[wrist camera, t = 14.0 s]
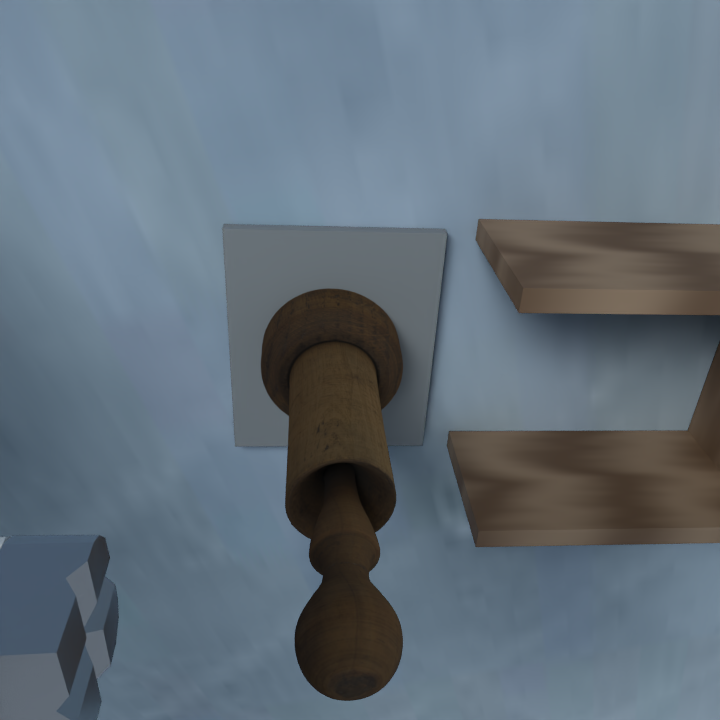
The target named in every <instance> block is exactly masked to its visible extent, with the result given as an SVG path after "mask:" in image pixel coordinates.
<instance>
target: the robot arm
mask: <svg viewBox="0 0 720 720" xmlns="http://www.w3.org/2000/svg"><path fill="white" fill-rule="evenodd" d="M109 560H110V556H109V552H108V548H107V543H106V539H105V537H102V536H100V535H21V536H7V537H0V720H97V718H98V714H99V710H100V706H101V702H102V701H101V697H100V692H99V688H98V683H97V679H98V678H99V677H100V676H101V675H102V674H103V673H104V672H105V671H106V670H107V669H108V668H109V667H110V666H111V662H112V657H113V653H114V649H115V645H116V637H117V628H118V618H119V615H118V597H117V592H116V586H115V584H114V583H113V582H112V581H110V580H109V579H108V578H107V577H105V574H106V570H107V567H108V563H109Z"/></svg>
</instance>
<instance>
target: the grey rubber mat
mask: <svg viewBox="0 0 720 720" xmlns="http://www.w3.org/2000/svg"><path fill="white" fill-rule="evenodd" d="M222 230H223V247H224V264H225V281H226V298H227V315H228V332H229V349H230V366H231V384H232V401H233V418H234V435H235V446H288V428H289V416H288V415H287V414H285V413H284V412H283V411H281V410H280V409H279V408H278V407H277V406H276V405H275V404H274V402H273V401H272V400H271V398H270V397H269V395H268V393H267V391H266V389H265V387H264V384H263V380H262V375H261V354H262V343H263V337H264V333H265V331H266V328H267V326H268V324H269V322H270V320H271V319H272V317H273V316H274V314H275V313H276V312H277V311H278V310H279V309H280V308H281V307H282V306H283V305H284V304H285V303H287V302H288V301H290V300H291V299H293V298H295V297H297V296H299V295H301V294H303V293H306V292H309V291H313V290H318V289H328V288H329V289H343V290H348V291H352V292H355V293H358V294H360V295H362V296H365V297H366V298H368V299H370V300H372V301H373V302H375V303H376V304H377V305H378V306H380V307H381V308H382V309H383V310H384V311H385V312H386V313H387V315H388V316H389V317H390V319H391V320H392V322H393V324H394V326H395V328H396V331H397V334H398V338H399V343H400V348H401V353H402V359H403V373H402V379H401V383H400V386H399V388H398V390H397V392H396V394H395V395H394V397H393V398H392V400H391V401H390V402H389V403H388V404H387V406H386V407H384V408H383V409H382V410H381V411H382V417H383V424H384V430H385V435H386V441H387V446H423V437H424V429H425V420H426V411H427V403H428V394H429V386H430V377H431V369H432V360H433V351H434V343H435V334H436V326H437V317H438V309H439V300H440V291H441V283H442V274H443V266H444V257H445V248H446V240H447V232H446V230H445V229H424V228H377V227H331V226H284V225H237V224H224V225H223V229H222Z"/></svg>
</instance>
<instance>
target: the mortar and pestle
mask: <svg viewBox="0 0 720 720" xmlns="http://www.w3.org/2000/svg"><path fill="white" fill-rule="evenodd" d="M402 373H403V359H402V353H401V348H400V343H399V338H398V334H397V331H396V328H395V326H394V324H393V322H392V320H391V319H390V317H389V316H388V315H387V313H386V312H385V311H384V310H383V309H382V308H381V307H380V306H378V305H377V304H376V303H375V302H373V301H372V300H370V299H368V298H366V297H365V296H362V295H360V294H358V293H355V292H352V291H348V290H343V289H329V288H328V289H318V290H313V291H309V292H306V293H303V294H301V295H299V296H297V297H295V298H293V299H291V300H290V301H288V302H287V303H285V304H284V305H283V306H282V307H281V308H280V309H279V310H278V311H277V312H276V313H275V314H274V316H273V317H272V319H271V320H270V322H269V324H268V326H267V328H266V331H265V333H264V337H263V343H262V354H261V375H262V380H263V384H264V387H265V389H266V391H267V393H268V395H269V397H270V398H271V400H272V401H273V402H274V404H275V405H276V406H277V407H278V408H279V409H280V410H281V411H283V412H284V413H285V414H287V415H288V416H289V428H288V456H287V478H286V497H285V508H286V513H287V516H288V518H289V520H290V522H291V524H292V525H293V526H294V527H295V528H296V529H297V530H298V531H299V532H300V533H301V534H303V535H304V536H306V537H308V538H310V539H311V543H310V549H309V558H310V562H311V564H312V566H313V567H314V569H315V570H316V571H317V572H319V573H320V574H321V575H323V579H322V583H321V585H320V586H319V588H318V589H317V590H316V591H315V593H314V594H313V596H312V597H311V599H310V600H309V602H308V603H307V604H306V606H305V608H304V609H303V611H302V613H301V615H300V617H299V620H298V622H297V626H296V630H295V651H296V657H297V660H298V664H299V666H300V669H301V671H302V673H303V675H304V676H305V678H306V679H307V681H308V682H309V683H310V684H311V685H312V686H313V687H314V688H315V689H316V690H317V691H318V692H320V693H321V694H323V695H325V696H327V697H329V698H332V699H337V700H344V701H350V700H358V699H363V698H366V697H369V696H371V695H373V694H375V693H376V692H378V691H380V690H381V689H382V688H383V687H384V686H385V685H386V684H387V683H388V682H389V681H390V680H391V678H392V677H393V675H394V674H395V672H396V670H397V668H398V665H399V662H400V659H401V655H402V648H403V636H402V629H401V625H400V622H399V619H398V617H397V615H396V613H395V611H394V609H393V608H392V606H391V605H390V603H389V602H388V601H387V600H386V598H385V597H384V596H383V595H382V594H381V593H380V591H379V590H378V589H377V588H376V587H375V586H374V585H373V584H372V583H371V582H370V579H369V572H370V571H371V570H372V569H373V568H374V567H375V566H376V564H377V563H378V560H379V557H380V547H379V543H378V540H377V537H376V534H375V532H377V531H378V530H379V529H381V528H382V527H383V526H384V525H385V524H386V522H387V521H388V520H389V518H390V517H391V515H392V513H393V511H394V508H395V504H396V490H395V484H394V479H393V474H392V468H391V463H390V458H389V452H388V447H387V441H386V435H385V430H384V424H383V417H382V411H381V410H382V409H383V408H384V407H386V406H387V404H388V403H389V402H390V401H391V400H392V398H393V397H394V395H395V394H396V392H397V390H398V388H399V386H400V383H401V379H402Z"/></svg>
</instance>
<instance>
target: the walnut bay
mask: <svg viewBox="0 0 720 720" xmlns="http://www.w3.org/2000/svg"><path fill="white" fill-rule="evenodd" d="M476 241H477V243H478V245H479V246H480V248H481V250H482V252H483V253H484V255H485V257H486V258H487V260H488V262H489V263H490V265H491V267H492V268H493V270H494V272H495V274H496V275H497V277H498V279H499V280H500V282H501V284H502V285H503V287H504V289H505V290H506V292H507V294H508V295H509V297H510V299H511V301H512V302H513V304H514V306H515V307H516V309H517V311H518V312H519V313H571V314H659V315H720V225H714V224H670V223H626V222H582V221H538V220H494V219H479V220H478V227H477V234H476ZM447 448H448V451H449V455H450V458H451V462H452V465H453V469H454V472H455V476H456V479H457V483H458V486H459V490H460V493H461V497H462V501H463V504H464V508H465V511H466V515H467V518H468V522H469V525H470V529H471V532H472V536H473V539H474V543H475V546H476V547H506V546H565V545H623V544H681V543H720V342H719V345H718V348H717V350H716V353H715V356H714V359H713V362H712V364H711V367H710V370H709V373H708V375H707V378H706V381H705V384H704V387H703V389H702V392H701V395H700V398H699V400H698V403H697V406H696V409H695V412H694V414H693V417H692V420H691V423H690V425H689V428H688V431H449V435H448V442H447Z"/></svg>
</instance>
